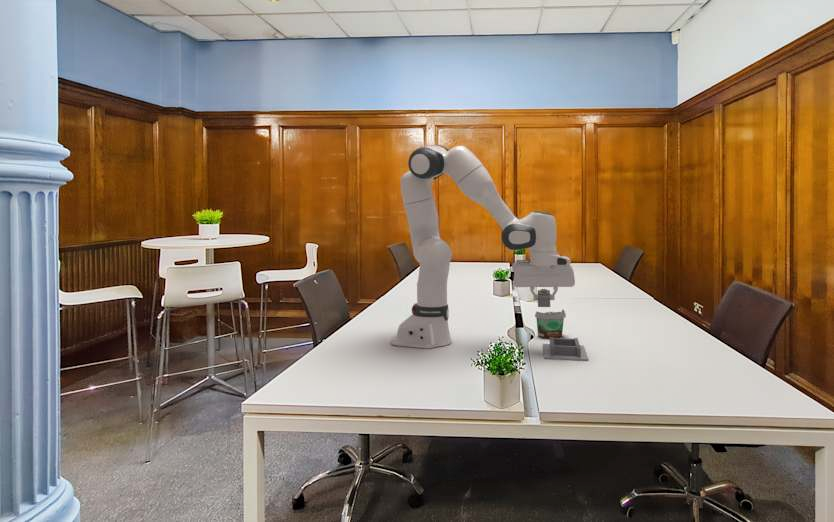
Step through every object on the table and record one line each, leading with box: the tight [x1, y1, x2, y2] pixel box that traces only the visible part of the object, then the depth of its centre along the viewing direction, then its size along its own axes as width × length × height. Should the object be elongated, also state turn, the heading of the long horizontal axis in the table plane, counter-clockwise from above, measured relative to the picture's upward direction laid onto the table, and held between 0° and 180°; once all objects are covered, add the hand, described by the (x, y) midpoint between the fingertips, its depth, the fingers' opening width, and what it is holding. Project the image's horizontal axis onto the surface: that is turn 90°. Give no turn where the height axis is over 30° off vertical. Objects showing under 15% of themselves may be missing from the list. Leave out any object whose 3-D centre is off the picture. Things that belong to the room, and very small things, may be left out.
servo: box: [537, 288, 551, 308], centre depth 177 cm, size 4×9×5 cm, turn 167°
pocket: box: [542, 337, 589, 362], centre depth 178 cm, size 14×17×4 cm
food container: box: [534, 309, 567, 340], centre depth 197 cm, size 12×6×10 cm, turn 105°
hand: (544, 299), depth 177 cm, fingers closed on servo, 4 cm apart
